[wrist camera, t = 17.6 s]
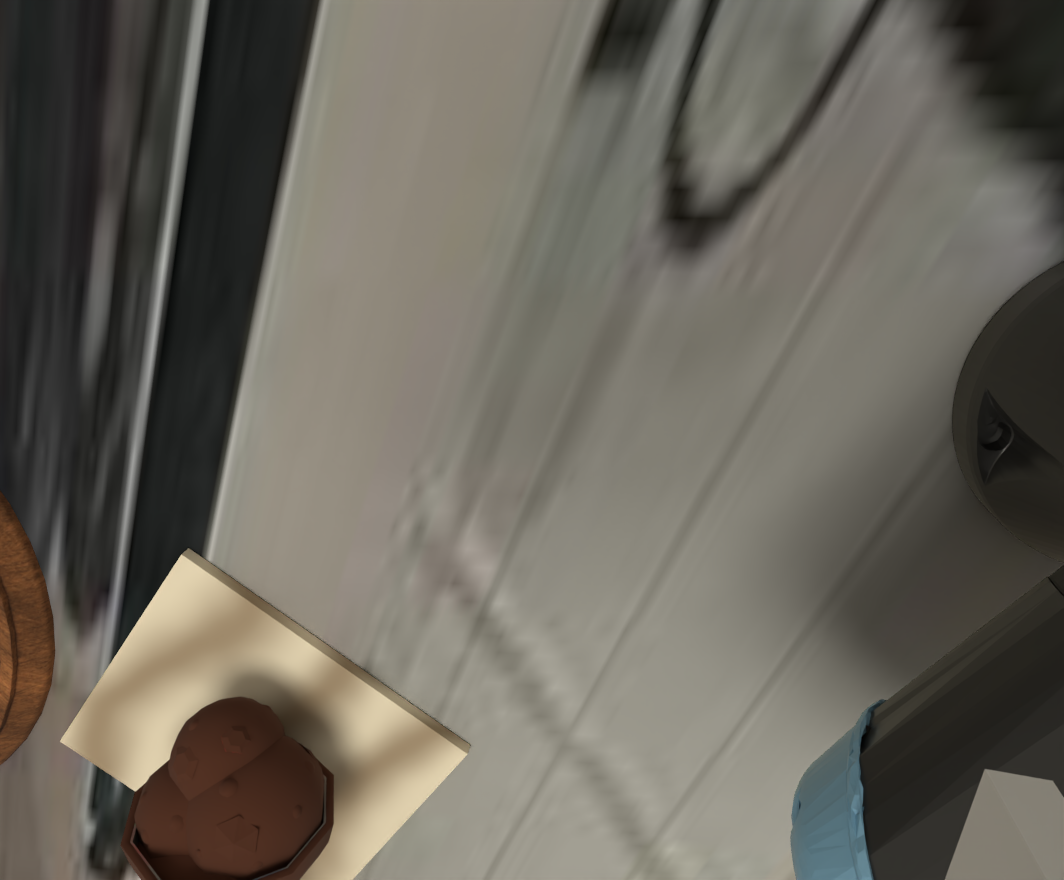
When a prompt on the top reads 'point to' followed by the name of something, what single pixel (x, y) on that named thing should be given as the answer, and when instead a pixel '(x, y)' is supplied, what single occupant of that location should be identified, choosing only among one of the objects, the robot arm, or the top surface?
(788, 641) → the top surface
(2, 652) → the cutting board
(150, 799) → the chocolate ice cream sundae
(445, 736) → the birch pad
